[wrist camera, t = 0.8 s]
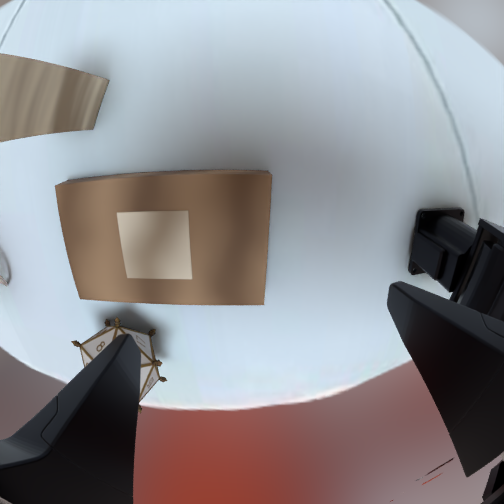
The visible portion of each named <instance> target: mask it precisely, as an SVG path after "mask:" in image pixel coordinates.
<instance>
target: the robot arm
mask: <svg viewBox="0 0 504 504" xmlns="http://www.w3.org/2000/svg"><path fill="white" fill-rule="evenodd" d="M422 214H423V216H422ZM463 219H464V210H463V209H461V208H442V209H422V210H420V211H419V212H418V214H417V221H416V228H415V236H414V242H413V248H412V254H411V260H410V265H409V272H410V273H411V274H412V275H416V274H421V273H427V274H428V275H429V276H431V277H432V278H433V279H434V280H437V281H438V282H439V283H440V284H441V285H442V286H443V287H444V288H445V289H446V290H447V291H448V292H453V293H452V295H451V297H450V299H449V300H448V299H446V298H443V297H441V296H438V295H435V294H433V293H430V292H428V291H425V290H423V289H420V288H418V287H415V286H412V285H410V284H407V283H405V282H402V281H398V282H395V283H392V284H391V285H390V287H389V293H388V299H387V307H388V310H389V312H390V314H391V317H392V319H393V321H394V323H395V325H396V328H397V330H398V332H399V334H400V337H401V339H402V341H403V343H404V345H405V347H406V348H407V350H408V352H409V354H410V356H411V357H412V359H413V361H414V363H415V365H416V366H417V368H418V370H419V372H420V374H421V376H422V378H423V380H424V382H425V383H426V386H427V388H428V389H429V392H430V394H431V395H432V398H433V400H434V402H435V404H436V406H437V408H438V410H439V412H440V414H441V416H442V419H443V421H444V423H445V425H446V427H447V430H448V432H449V435H450V437H451V439H452V442H453V444H454V446H455V449H456V451H457V454H458V457H459V459H460V462H461V464H462V467H463V470H464V472H465V475H466V477H469V476H471V475H472V474H474V473H475V472H477V471H478V470H480V469H481V468H482V467H484V466H485V465H487V464H488V463H490V462H491V461H492V460H494V459H495V458H496V457H497V456H499V455H501V457H502V459H503V460H501V461H500V462H499V463H498V464H497V465H496V466H495V467H494V468H492V469H491V472H490V475H489V479H488V482H487V485H486V488H485V491H484V494H483V496H482V498H483V500H484V502H482V503H481V504H504V227H501V226H499V225H497V224H494V223H492V222H489V221H487V220H484V219H481V218H480V220H479V223H478V225H479V226H478V229H477V230H475V229H474V228H472V227H470V226H469V225H467V224H465V223H463ZM413 269H414V270H413ZM140 379H141V352H140V349H139V347H138V345H137V344H136V342H135V340H134V338H133V337H132V335H131V334H129V333H126V334H119V335H118V336H117V337H116V338H115V339H114V340H113V341H112V342H111V343H110V344H108V345H107V346H106V347H105V348H104V349H103V350H102V351H101V352H100V353H99V354H98V355H97V356H96V357H95V358H94V359H93V360H92V361H91V362H90V363H89V364H88V365H87V366H86V367H85V368H83V369H82V370H81V371H80V372H79V373H78V374H77V375H76V376H75V377H74V378H73V379H72V380H71V381H70V382H69V383H68V384H67V385H66V386H65V387H64V388H63V389H62V390H61V391H60V392H59V393H58V396H55V397H54V398H53V399H52V400H51V401H50V402H49V403H48V404H47V405H46V406H45V407H44V408H43V409H42V410H41V411H40V412H39V413H38V414H36V415H35V416H34V417H33V418H32V419H31V420H30V421H28V422H27V423H26V424H25V425H24V426H23V427H22V428H20V429H19V430H18V431H17V432H16V433H15V434H13V435H12V436H11V437H9V438H7V439H3V440H0V504H133V497H132V496H133V473H134V472H133V471H134V453H135V439H136V426H137V417H138V407H139V399H140Z"/></svg>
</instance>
